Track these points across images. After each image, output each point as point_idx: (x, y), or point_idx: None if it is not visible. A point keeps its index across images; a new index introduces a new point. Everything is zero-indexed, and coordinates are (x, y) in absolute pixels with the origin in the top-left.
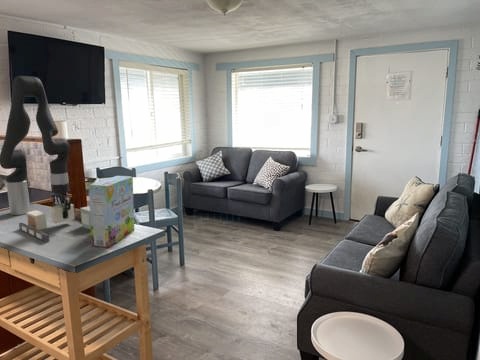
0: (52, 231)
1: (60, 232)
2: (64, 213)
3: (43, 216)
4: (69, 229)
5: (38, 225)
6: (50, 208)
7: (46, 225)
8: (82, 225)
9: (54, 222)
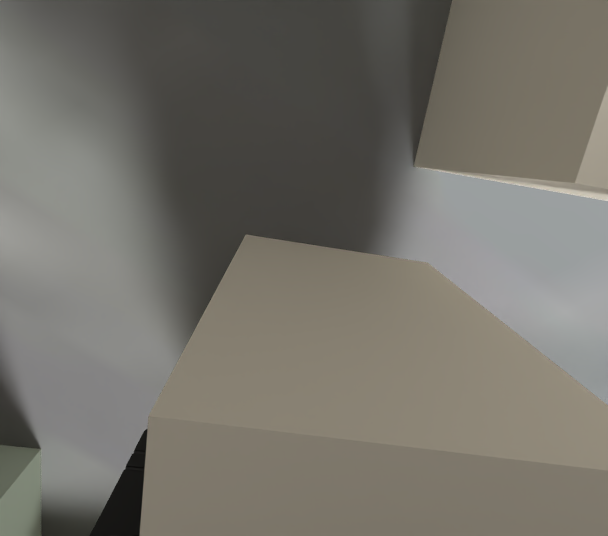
0: (180, 96)
1: (22, 129)
2: (130, 498)
3: (548, 109)
4: (50, 288)
5: (481, 2)
6: (599, 426)
7: (428, 162)
8: (11, 459)
9: (305, 245)
